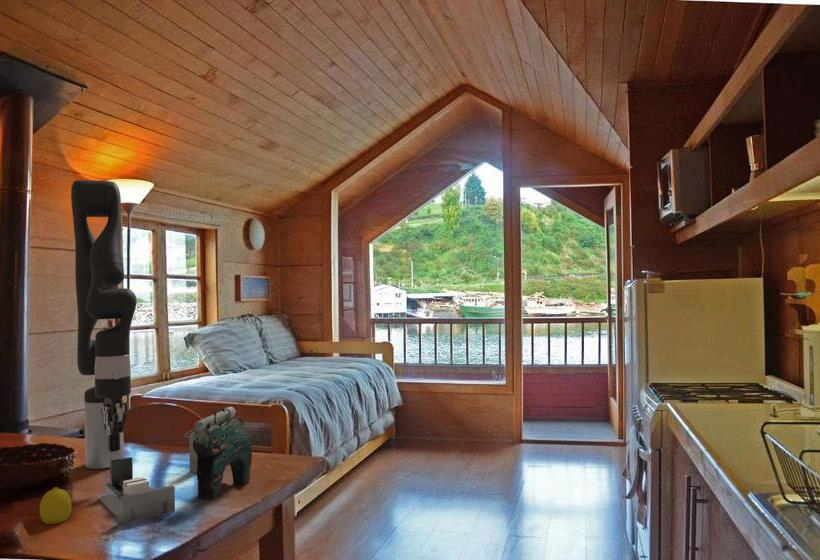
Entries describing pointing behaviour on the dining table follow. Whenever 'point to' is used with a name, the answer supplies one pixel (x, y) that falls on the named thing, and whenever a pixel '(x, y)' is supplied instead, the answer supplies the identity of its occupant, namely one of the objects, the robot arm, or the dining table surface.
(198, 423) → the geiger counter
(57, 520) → the lemon
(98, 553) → the dining table surface
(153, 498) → the grey open box
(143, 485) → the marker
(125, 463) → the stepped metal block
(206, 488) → the green animal figurine
